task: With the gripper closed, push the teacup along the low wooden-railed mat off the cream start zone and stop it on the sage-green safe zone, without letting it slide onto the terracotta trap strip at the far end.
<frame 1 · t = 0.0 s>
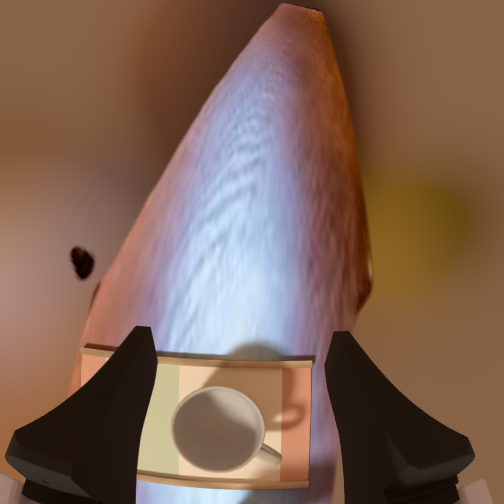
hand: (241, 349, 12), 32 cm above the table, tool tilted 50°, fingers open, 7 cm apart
teacup: (229, 427, 40), resting on trap lane
trap lane: (189, 424, 39), on the table
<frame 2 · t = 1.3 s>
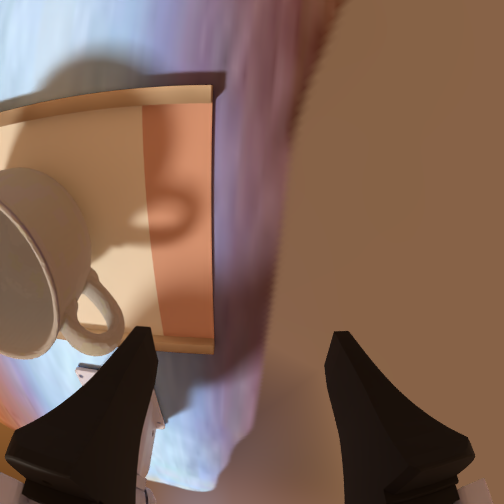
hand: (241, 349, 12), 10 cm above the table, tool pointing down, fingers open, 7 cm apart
teacup: (60, 235, 20), resting on trap lane
trap lane: (8, 235, 20), on the table
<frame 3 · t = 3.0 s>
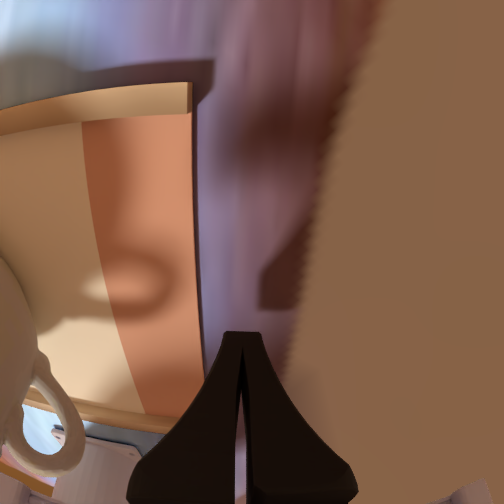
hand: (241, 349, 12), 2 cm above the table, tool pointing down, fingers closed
teacup: (5, 298, 14), resting on trap lane
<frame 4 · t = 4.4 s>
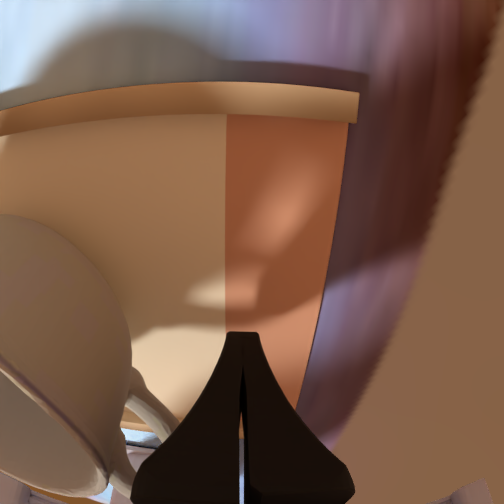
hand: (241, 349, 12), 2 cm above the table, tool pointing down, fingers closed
teacup: (75, 307, 14), resting on trap lane, touching gripper
trap lane: (1, 298, 14), on the table
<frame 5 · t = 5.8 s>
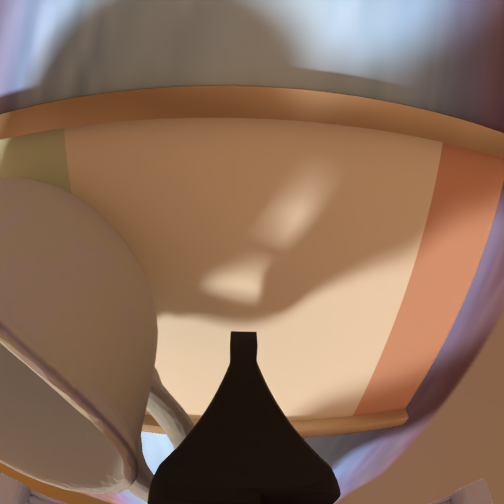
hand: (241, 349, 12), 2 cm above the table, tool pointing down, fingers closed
teacup: (88, 287, 13), resting on trap lane, touching gripper
trap lane: (128, 313, 14), on the table
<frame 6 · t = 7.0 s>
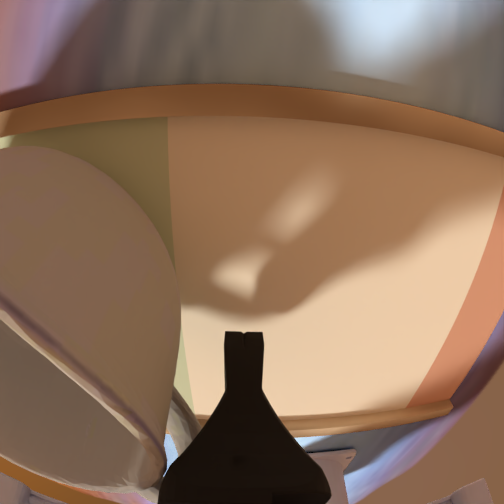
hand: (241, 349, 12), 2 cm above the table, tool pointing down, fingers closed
teacup: (99, 271, 13), resting on trap lane, touching gripper
trap lane: (215, 316, 14), on the table
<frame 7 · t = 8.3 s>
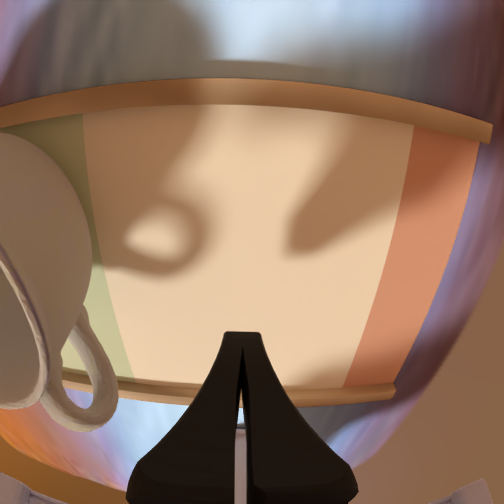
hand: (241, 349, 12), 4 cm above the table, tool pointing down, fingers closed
teacup: (45, 238, 14), resting on trap lane
trap lane: (134, 280, 16), on the table
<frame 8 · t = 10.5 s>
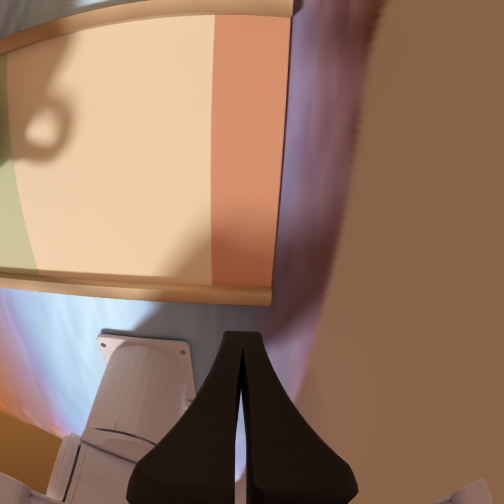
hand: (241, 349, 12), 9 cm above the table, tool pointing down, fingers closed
trap lane: (31, 168, 18), on the table
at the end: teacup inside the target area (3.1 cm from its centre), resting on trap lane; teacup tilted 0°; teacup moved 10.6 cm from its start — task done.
